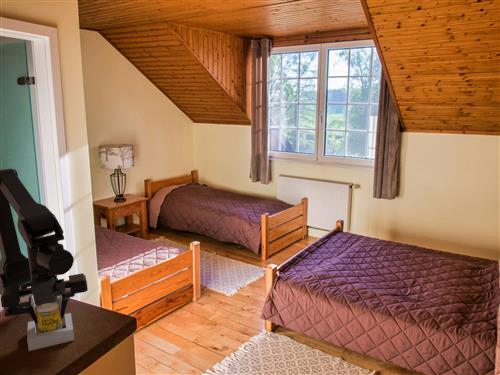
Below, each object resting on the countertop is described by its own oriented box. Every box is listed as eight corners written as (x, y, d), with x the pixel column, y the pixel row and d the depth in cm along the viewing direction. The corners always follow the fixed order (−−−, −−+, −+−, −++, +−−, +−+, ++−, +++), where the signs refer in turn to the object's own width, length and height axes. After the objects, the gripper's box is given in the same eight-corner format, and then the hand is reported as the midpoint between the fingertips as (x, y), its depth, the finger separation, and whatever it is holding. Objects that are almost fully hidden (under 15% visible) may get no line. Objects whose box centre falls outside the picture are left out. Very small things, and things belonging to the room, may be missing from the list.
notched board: (29, 332, 106) (28, 322, 106) (72, 323, 111) (70, 312, 110) (28, 351, 99) (27, 339, 98) (74, 340, 103) (73, 329, 102)
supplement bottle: (60, 321, 109) (56, 287, 106) (64, 331, 104) (60, 296, 102) (37, 328, 106) (32, 293, 104) (40, 338, 101) (35, 302, 99)
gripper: (-6, 284, 90) (4, 348, 93) (87, 268, 98) (92, 327, 101) (-2, 264, 99) (7, 323, 103) (82, 251, 107) (88, 306, 111)
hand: (49, 320), depth 104 cm, fingers closed on supplement bottle, 5 cm apart
